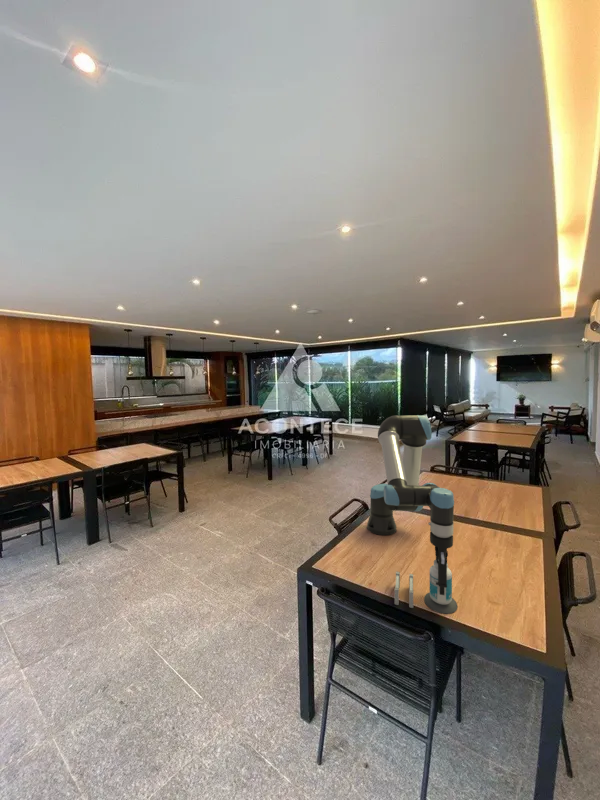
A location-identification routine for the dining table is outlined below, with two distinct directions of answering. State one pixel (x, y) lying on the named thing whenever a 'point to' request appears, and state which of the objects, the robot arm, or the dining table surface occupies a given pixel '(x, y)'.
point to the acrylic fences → (399, 587)
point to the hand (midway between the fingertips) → (440, 594)
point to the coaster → (440, 605)
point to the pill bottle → (435, 579)
